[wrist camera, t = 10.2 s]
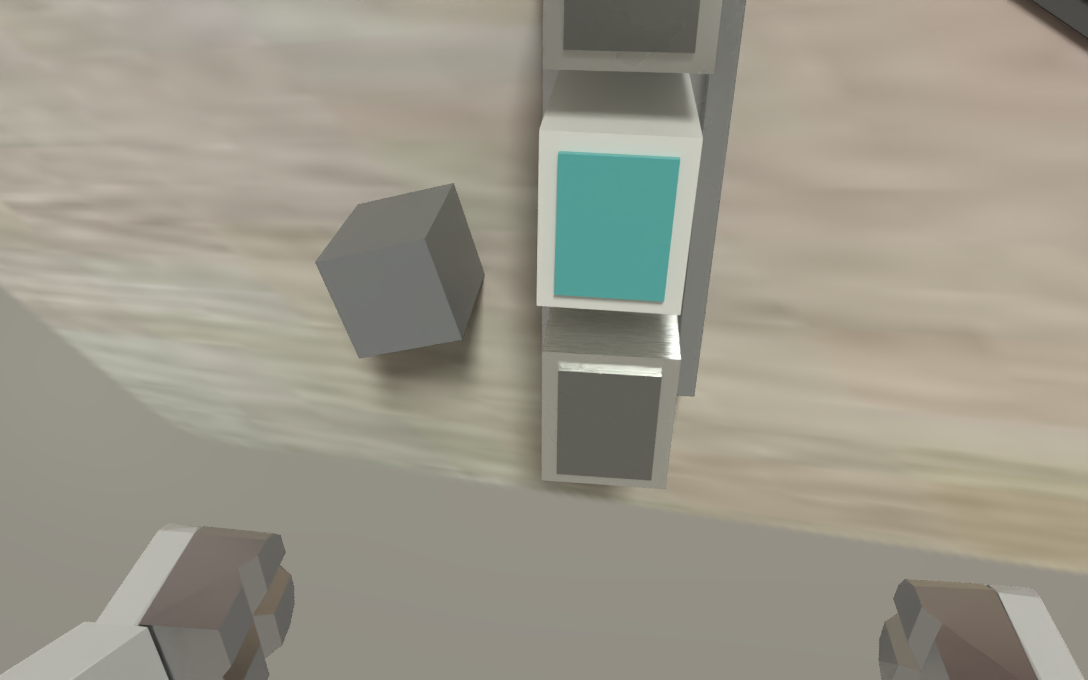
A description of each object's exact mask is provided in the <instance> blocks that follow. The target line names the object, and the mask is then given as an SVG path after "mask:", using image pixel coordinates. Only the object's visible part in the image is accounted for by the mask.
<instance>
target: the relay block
mask: <svg viewBox="0 0 1088 680" xmlns="http://www.w3.org/2000/svg"><path fill="white" fill-rule="evenodd" d="M315 263H316V265H317V267H318V269H319V272H320V274H321V276H322V278H323V280H324V283H325V285H326V287H327V289H328V291H329V294H330V296H331V298H332V300H333V302H334V304H335V307H336V309H337V311H338V313H339V315H340V318H341V320H342V322H343V324H344V326H345V328H346V331H347V333H348V335H349V337H350V339H351V342H352V344H353V346H354V348H355V350H356V352H357V355H358V357H359V358H364V357H369V356H375V355H380V354H386V353H392V352H397V351H403V350H408V349H414V348H420V347H425V346H431V345H436V344H442V343H448V342H453V341H459V340H462V339H463V336H464V333H465V330H466V328H467V325H468V322H469V319H470V316H471V313H472V310H473V307H474V304H475V301H476V298H477V295H478V292H479V289H480V286H481V283H482V281H483V278H484V275H485V274H484V271H483V268H482V265H481V262H480V259H479V256H478V253H477V250H476V248H475V245H474V242H473V239H472V236H471V233H470V230H469V227H468V224H467V221H466V218H465V215H464V212H463V209H462V206H461V203H460V200H459V197H458V194H457V191H456V189H455V186H454V183H451V184H447V185H443V186H438V187H434V188H429V189H425V190H420V191H416V192H411V193H407V194H402V195H398V196H393V197H389V198H385V199H380V200H376V201H371V202H367V203H362V204H358V205H357V206H356V208H355V209H354V210H353V212H352V213H351V215H350V216H349V217H348V219H347V220H346V221H345V223H344V224H343V225H342V227H341V228H340V229H339V231H338V232H337V233H336V235H335V236H334V237H333V239H332V240H331V241H330V243H329V244H328V245H327V247H326V248H325V249H324V251H323V252H322V254H321V255H320V256H319V258H318V259H317V260H316V262H315Z"/></svg>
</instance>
